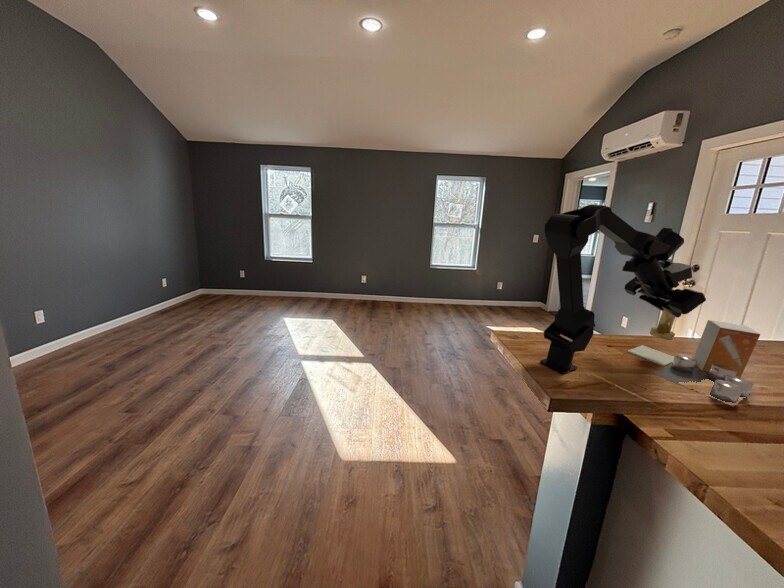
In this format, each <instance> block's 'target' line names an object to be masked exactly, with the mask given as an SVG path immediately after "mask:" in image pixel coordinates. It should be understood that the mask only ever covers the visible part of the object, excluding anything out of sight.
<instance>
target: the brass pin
mask: <svg viewBox="0 0 784 588" xmlns="http://www.w3.org/2000/svg"><path fill="white" fill-rule="evenodd" d="M675 320H676V317H675V316H674V315H672V314H671V313H669V312H668V311H666V310H665V309H663V311H661V314H660V318H659V321H658V323H657V326H656V327H651V328H650V332H649V334H650V335H651V336H653V337H655V338H657V339H660V340H666V341H672V340H674V339H675V338H674V337H675V335H676V333H675V332H673V331H672V329H673V326H674V322H675Z"/></svg>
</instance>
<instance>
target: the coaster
mask: <svg viewBox="0 0 784 588" xmlns="http://www.w3.org/2000/svg"><path fill="white" fill-rule="evenodd" d="M627 353H629V354H632V355H634V356H637V357H639V358H641V359H644V360H647V361H650V362H652V363H655V364H656V365H660V366H662V367H667V366H670V365H672V362H673V360H674V357H675V356H674V355H670V354H667V353H665V352H662V351H659V350H656V349H653V348H651V347H649V346H646V345H643V344H641V345H639V346H636V347H634V348H631V349H629V350H627Z"/></svg>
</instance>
